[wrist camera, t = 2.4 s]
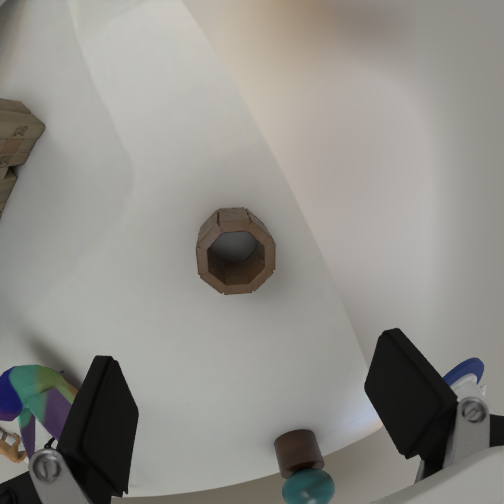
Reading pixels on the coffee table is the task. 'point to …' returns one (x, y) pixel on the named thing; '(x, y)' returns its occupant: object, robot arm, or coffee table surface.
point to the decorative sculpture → (35, 401)
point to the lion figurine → (12, 450)
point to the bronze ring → (235, 273)
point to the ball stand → (303, 469)
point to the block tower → (15, 141)
